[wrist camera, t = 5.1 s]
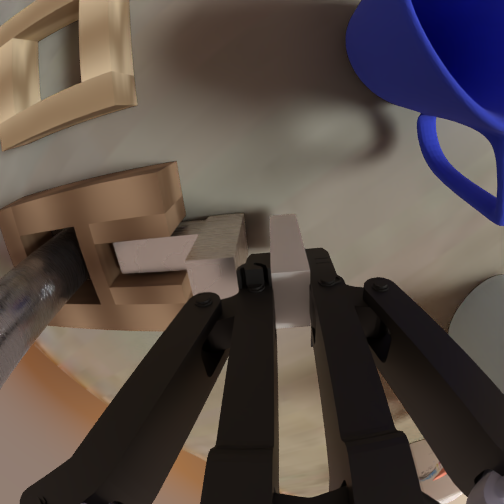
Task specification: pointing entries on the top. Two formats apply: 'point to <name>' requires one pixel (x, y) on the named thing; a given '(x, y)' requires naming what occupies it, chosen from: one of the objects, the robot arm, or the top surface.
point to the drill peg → (37, 295)
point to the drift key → (193, 253)
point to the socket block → (108, 244)
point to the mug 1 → (438, 75)
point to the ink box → (432, 474)
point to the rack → (91, 64)
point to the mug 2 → (483, 328)
